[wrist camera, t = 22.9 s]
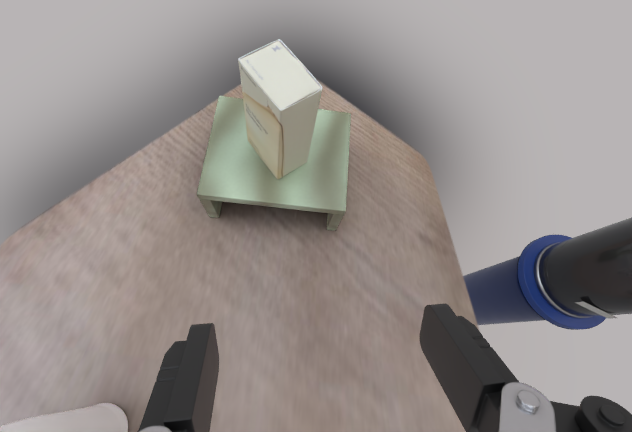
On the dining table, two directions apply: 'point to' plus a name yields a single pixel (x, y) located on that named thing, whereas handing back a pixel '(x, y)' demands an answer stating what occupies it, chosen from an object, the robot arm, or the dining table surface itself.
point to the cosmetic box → (279, 106)
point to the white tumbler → (74, 421)
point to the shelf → (259, 182)
